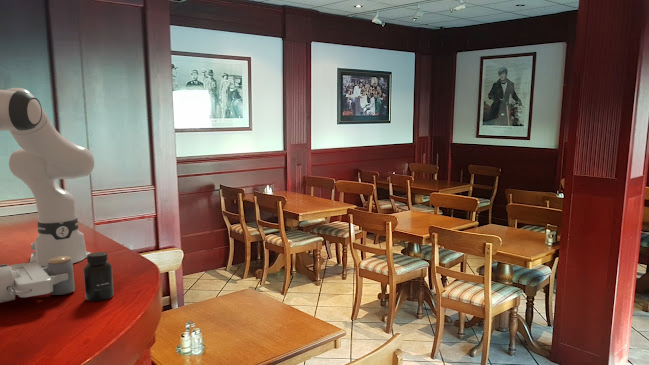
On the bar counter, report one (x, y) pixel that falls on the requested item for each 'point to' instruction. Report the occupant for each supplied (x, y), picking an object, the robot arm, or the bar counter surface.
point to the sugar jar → (61, 266)
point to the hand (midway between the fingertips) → (64, 272)
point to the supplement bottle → (98, 277)
